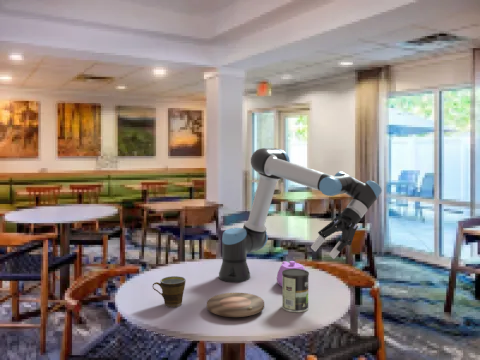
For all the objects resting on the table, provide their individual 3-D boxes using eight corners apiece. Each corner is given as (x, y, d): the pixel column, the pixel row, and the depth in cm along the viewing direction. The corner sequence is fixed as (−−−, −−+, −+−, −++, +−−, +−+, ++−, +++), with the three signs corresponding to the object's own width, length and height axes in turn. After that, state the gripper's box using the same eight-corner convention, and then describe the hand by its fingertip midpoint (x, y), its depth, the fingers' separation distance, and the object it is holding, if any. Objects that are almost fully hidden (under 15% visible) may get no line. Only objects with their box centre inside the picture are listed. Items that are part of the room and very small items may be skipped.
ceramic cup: (184, 299, 168) (184, 275, 168) (186, 308, 159) (186, 282, 158) (152, 301, 166) (152, 277, 165) (152, 310, 156) (152, 285, 155)
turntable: (196, 307, 159) (196, 298, 159) (241, 296, 172) (241, 287, 172) (228, 326, 141) (228, 316, 141) (276, 312, 154) (276, 302, 154)
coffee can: (309, 303, 163) (309, 269, 162) (308, 313, 153) (308, 276, 152) (283, 302, 165) (283, 267, 164) (280, 311, 155) (280, 275, 154)
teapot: (289, 294, 174) (289, 268, 174) (270, 281, 193) (270, 257, 192) (316, 291, 179) (317, 266, 178) (295, 278, 197) (296, 255, 197)
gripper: (379, 223, 156) (346, 266, 151) (341, 215, 179) (311, 252, 174) (367, 210, 154) (334, 253, 149) (330, 203, 177) (300, 241, 172)
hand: (321, 253), depth 162 cm, fingers open, 13 cm apart
